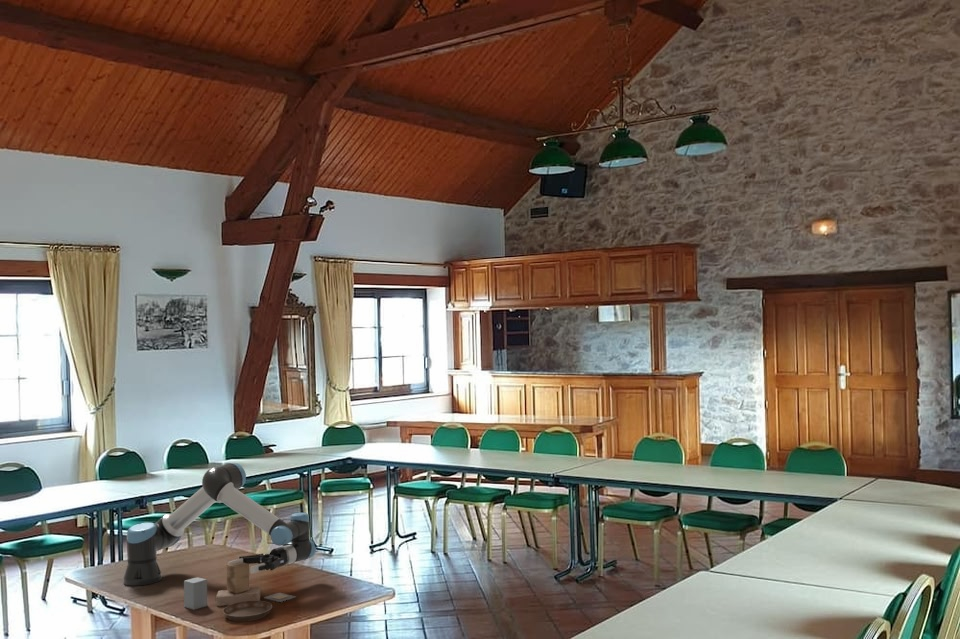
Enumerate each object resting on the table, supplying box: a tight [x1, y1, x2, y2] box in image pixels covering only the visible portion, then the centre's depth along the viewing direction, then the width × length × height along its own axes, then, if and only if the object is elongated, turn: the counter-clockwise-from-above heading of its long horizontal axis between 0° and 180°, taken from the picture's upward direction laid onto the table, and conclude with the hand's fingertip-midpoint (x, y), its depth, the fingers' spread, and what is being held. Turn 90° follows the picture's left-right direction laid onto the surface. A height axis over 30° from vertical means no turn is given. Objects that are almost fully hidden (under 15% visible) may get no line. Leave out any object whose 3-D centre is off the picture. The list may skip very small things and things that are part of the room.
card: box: [263, 592, 297, 603], centre depth 359 cm, size 10×8×1 cm
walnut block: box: [226, 562, 250, 593], centre depth 356 cm, size 6×6×10 cm
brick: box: [215, 586, 261, 607], centre depth 356 cm, size 16×8×5 cm, turn 101°
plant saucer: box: [222, 600, 273, 622], centre depth 338 cm, size 18×18×3 cm
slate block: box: [183, 576, 208, 610], centre depth 351 cm, size 6×6×10 cm
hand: (239, 567), depth 357 cm, fingers open, 13 cm apart
